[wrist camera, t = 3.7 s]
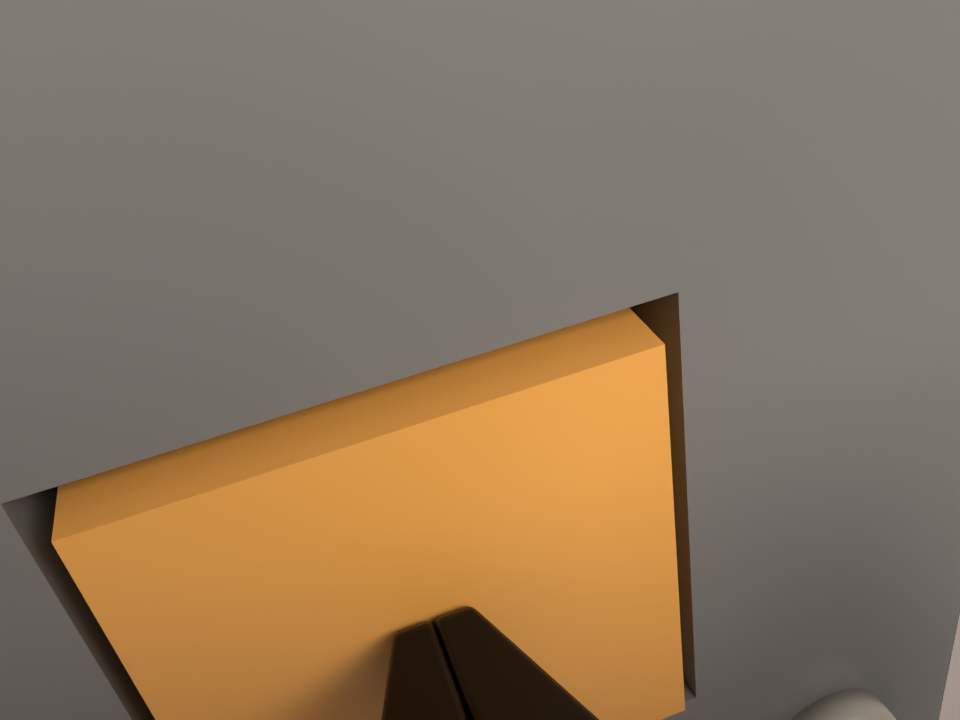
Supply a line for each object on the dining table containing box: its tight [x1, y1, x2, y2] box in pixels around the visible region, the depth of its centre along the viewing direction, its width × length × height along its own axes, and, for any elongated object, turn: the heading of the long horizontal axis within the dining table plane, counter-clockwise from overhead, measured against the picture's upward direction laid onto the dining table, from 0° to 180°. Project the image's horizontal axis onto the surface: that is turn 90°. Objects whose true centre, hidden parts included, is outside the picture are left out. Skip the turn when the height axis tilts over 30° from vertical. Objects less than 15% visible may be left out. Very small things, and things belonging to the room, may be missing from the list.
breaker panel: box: [0, 0, 960, 720], centre depth 11 cm, size 14×14×4 cm
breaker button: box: [51, 308, 685, 720], centre depth 10 cm, size 5×5×2 cm
